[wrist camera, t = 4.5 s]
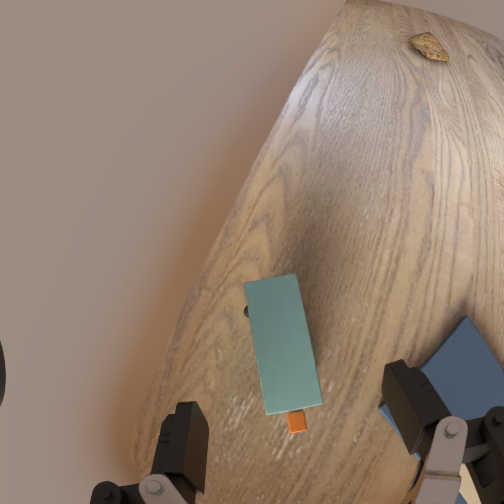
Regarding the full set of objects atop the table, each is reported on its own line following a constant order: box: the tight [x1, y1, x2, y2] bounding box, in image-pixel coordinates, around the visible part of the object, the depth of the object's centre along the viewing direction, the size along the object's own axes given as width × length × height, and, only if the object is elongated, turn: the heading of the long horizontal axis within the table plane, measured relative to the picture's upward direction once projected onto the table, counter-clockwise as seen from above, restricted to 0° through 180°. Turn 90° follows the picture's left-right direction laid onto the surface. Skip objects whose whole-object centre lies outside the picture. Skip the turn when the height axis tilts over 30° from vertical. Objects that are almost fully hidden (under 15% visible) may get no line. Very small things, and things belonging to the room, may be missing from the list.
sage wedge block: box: [244, 273, 323, 433], centre depth 15 cm, size 7×3×8 cm, turn 9°
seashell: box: [408, 32, 449, 61], centre depth 33 cm, size 8×6×8 cm
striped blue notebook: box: [378, 315, 504, 504], centre depth 13 cm, size 18×10×1 cm, turn 34°
